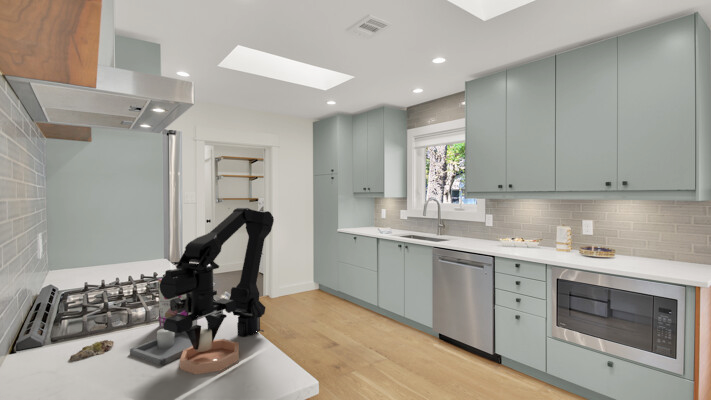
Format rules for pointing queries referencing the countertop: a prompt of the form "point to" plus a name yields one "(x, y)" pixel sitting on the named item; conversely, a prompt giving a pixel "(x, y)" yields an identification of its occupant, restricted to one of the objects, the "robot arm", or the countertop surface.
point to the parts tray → (162, 350)
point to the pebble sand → (205, 340)
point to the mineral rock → (93, 350)
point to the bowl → (210, 357)
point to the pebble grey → (165, 339)
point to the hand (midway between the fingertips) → (203, 345)
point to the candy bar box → (167, 307)
